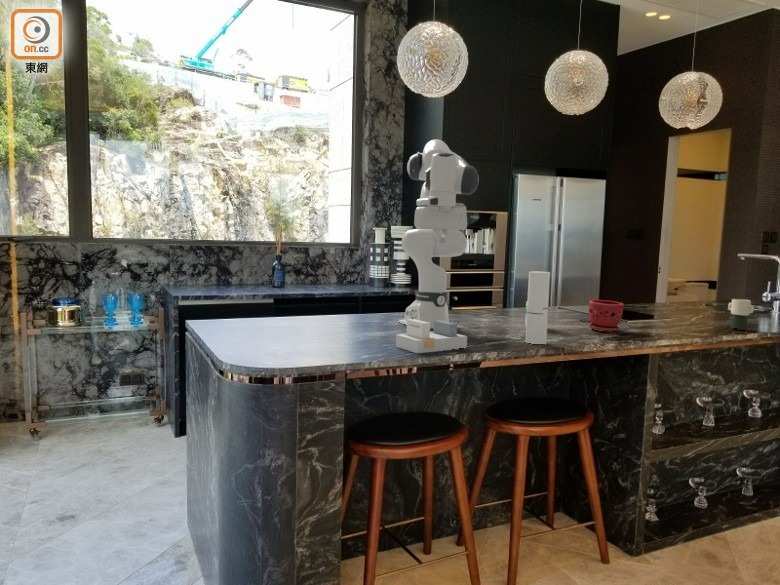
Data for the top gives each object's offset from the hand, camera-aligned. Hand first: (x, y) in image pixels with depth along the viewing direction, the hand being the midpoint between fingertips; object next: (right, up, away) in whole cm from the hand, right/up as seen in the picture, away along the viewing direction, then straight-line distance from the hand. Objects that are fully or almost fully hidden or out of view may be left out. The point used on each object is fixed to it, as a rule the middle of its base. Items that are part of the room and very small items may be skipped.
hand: (440, 242), depth 202 cm
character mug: (+132, -33, +54) cm, 146 cm away
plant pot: (+70, -33, +41) cm, 87 cm away
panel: (-8, -34, -8) cm, 36 cm away
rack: (-4, -35, -5) cm, 35 cm away
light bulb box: (+42, -32, +41) cm, 66 cm away
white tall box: (+34, -35, +8) cm, 49 cm away
